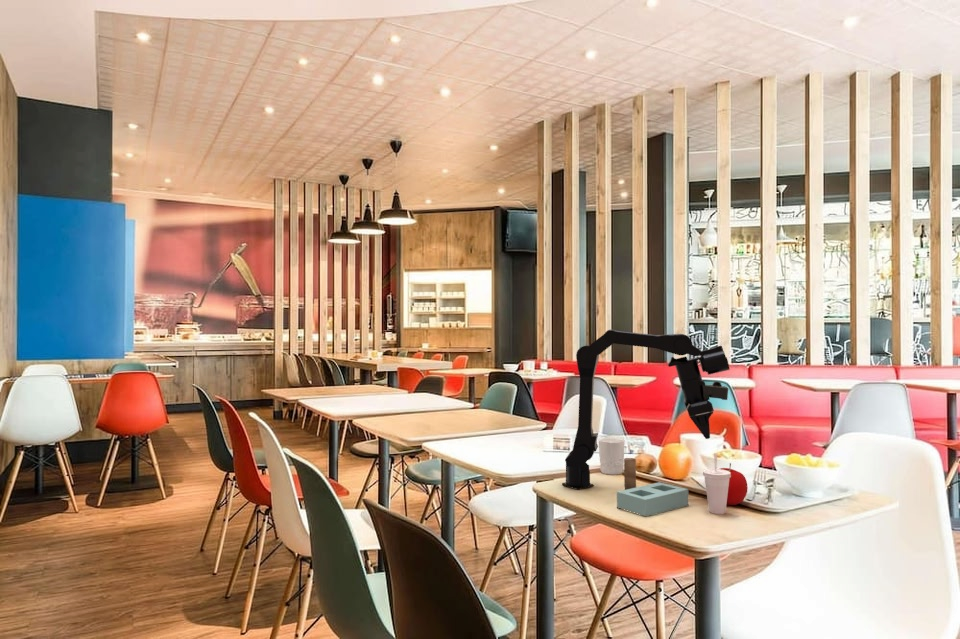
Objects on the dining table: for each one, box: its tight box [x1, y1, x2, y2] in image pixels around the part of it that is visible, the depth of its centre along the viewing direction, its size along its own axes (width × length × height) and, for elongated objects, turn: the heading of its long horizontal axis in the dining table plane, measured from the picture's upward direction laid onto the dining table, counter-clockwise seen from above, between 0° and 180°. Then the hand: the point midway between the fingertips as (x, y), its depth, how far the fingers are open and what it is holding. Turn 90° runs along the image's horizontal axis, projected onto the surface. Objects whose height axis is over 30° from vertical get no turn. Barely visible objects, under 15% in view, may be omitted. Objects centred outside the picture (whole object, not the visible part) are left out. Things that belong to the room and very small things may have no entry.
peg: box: [623, 457, 637, 490], centre depth 167 cm, size 3×3×10 cm
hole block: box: [616, 482, 690, 517], centre depth 155 cm, size 9×16×4 cm, turn 124°
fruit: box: [719, 462, 748, 506], centre depth 158 cm, size 9×9×10 cm
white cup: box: [598, 437, 626, 476], centre depth 193 cm, size 8×8×10 cm
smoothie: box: [702, 453, 731, 515], centre depth 151 cm, size 6×6×14 cm
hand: (706, 435), depth 167 cm, fingers open, 9 cm apart
